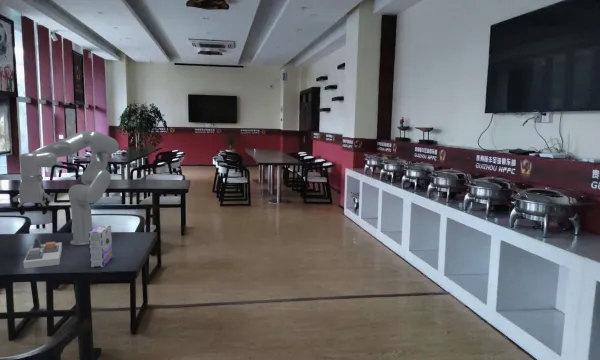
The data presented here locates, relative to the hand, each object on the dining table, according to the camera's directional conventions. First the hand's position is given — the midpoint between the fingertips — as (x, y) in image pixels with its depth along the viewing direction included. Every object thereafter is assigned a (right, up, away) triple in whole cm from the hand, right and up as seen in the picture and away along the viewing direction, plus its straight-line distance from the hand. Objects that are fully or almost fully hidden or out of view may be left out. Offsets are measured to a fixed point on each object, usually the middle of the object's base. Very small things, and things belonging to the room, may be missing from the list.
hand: (33, 214), depth 221 cm
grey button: (+6, -18, -10) cm, 21 cm away
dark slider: (-2, -17, +6) cm, 18 cm away
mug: (+29, -20, +6) cm, 36 cm away
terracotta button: (+8, -16, +1) cm, 18 cm away
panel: (+5, -21, 0) cm, 21 cm away
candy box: (+36, -22, -7) cm, 43 cm away
